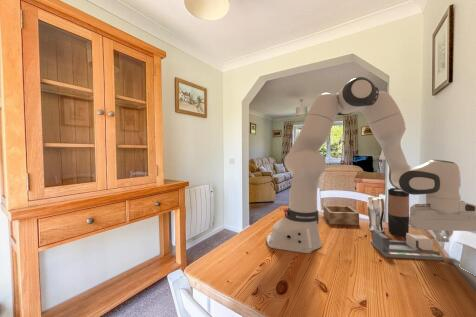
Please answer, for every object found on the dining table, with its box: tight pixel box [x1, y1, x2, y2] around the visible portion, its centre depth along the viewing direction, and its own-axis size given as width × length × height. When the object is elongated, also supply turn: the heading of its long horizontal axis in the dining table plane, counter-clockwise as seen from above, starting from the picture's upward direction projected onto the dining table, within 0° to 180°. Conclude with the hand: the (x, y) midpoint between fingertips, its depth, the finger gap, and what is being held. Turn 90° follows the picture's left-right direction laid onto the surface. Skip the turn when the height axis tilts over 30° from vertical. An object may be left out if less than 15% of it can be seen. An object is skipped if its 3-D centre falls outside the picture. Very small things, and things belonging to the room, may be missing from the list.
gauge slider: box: [405, 232, 434, 251], centre depth 74 cm, size 5×8×4 cm, turn 170°
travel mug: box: [387, 187, 410, 237], centre depth 92 cm, size 8×8×20 cm
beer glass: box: [366, 196, 386, 233], centre depth 97 cm, size 7×7×15 cm
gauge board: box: [370, 239, 445, 261], centre depth 76 cm, size 18×11×2 cm, turn 80°
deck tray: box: [322, 205, 360, 226], centre depth 112 cm, size 14×14×6 cm
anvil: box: [372, 230, 390, 252], centre depth 77 cm, size 2×8×5 cm, turn 171°
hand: (442, 241), depth 74 cm, fingers closed
